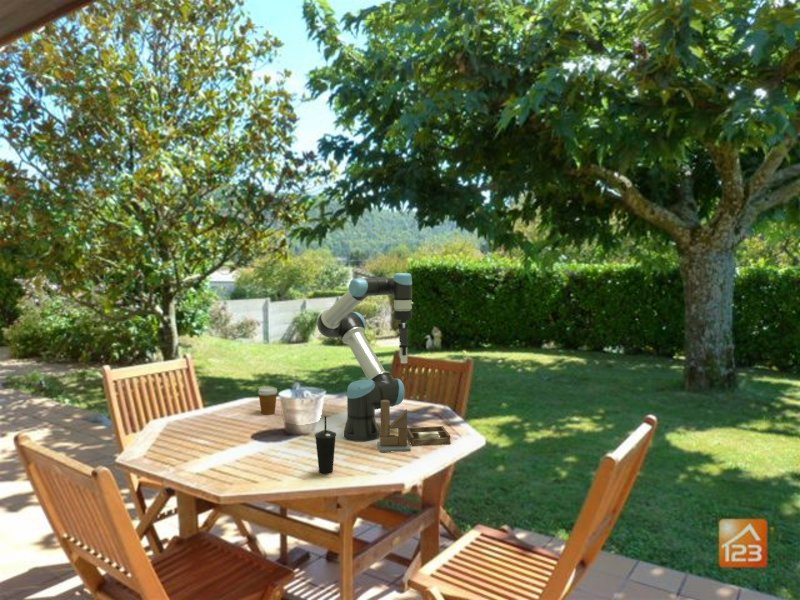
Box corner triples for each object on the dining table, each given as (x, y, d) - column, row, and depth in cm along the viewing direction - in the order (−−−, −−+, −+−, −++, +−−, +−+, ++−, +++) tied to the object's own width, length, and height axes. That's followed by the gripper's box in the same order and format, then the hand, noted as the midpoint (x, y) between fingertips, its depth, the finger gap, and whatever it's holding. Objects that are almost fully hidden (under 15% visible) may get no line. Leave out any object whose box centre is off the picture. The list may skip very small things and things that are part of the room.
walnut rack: (411, 446, 236) (411, 437, 235) (406, 435, 250) (406, 427, 249) (450, 444, 238) (450, 435, 238) (442, 434, 252) (442, 426, 252)
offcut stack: (418, 444, 238) (418, 434, 238) (417, 442, 241) (417, 432, 241) (440, 443, 239) (440, 433, 239) (438, 441, 243) (438, 431, 242)
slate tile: (380, 452, 228) (380, 450, 228) (377, 443, 239) (377, 441, 239) (410, 451, 230) (410, 448, 230) (406, 442, 240) (406, 440, 240)
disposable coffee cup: (254, 413, 287) (254, 389, 286) (271, 409, 293) (271, 386, 292) (264, 417, 280) (263, 392, 279) (281, 413, 286) (281, 389, 285)
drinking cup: (337, 467, 211) (337, 413, 210) (335, 475, 204) (335, 419, 202) (316, 468, 211) (315, 413, 210) (313, 475, 203) (313, 419, 202)
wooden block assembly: (407, 446, 232) (407, 401, 231) (380, 446, 232) (380, 401, 231) (407, 443, 236) (407, 399, 235) (380, 443, 236) (380, 399, 235)
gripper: (413, 312, 232) (413, 365, 233) (410, 307, 257) (410, 355, 258) (394, 312, 231) (395, 365, 233) (393, 307, 256) (393, 355, 258)
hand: (403, 360), depth 245 cm, fingers open, 13 cm apart
